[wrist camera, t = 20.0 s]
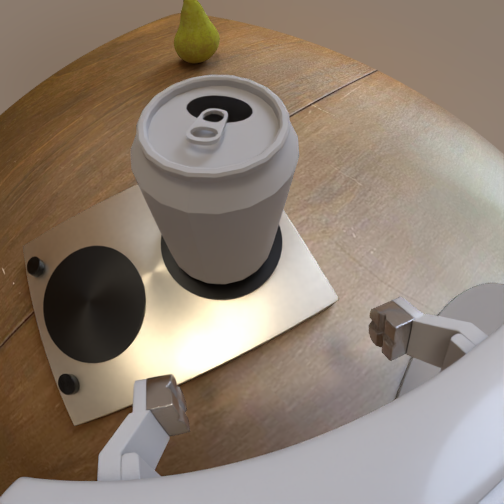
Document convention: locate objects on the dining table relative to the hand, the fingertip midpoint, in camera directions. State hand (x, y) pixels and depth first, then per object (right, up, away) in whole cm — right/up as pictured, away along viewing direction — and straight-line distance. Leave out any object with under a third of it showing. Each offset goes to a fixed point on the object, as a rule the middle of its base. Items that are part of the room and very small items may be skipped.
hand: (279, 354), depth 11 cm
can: (-3, +5, +11) cm, 13 cm away
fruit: (-8, +29, +23) cm, 38 cm away
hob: (-8, +2, +11) cm, 14 cm away
